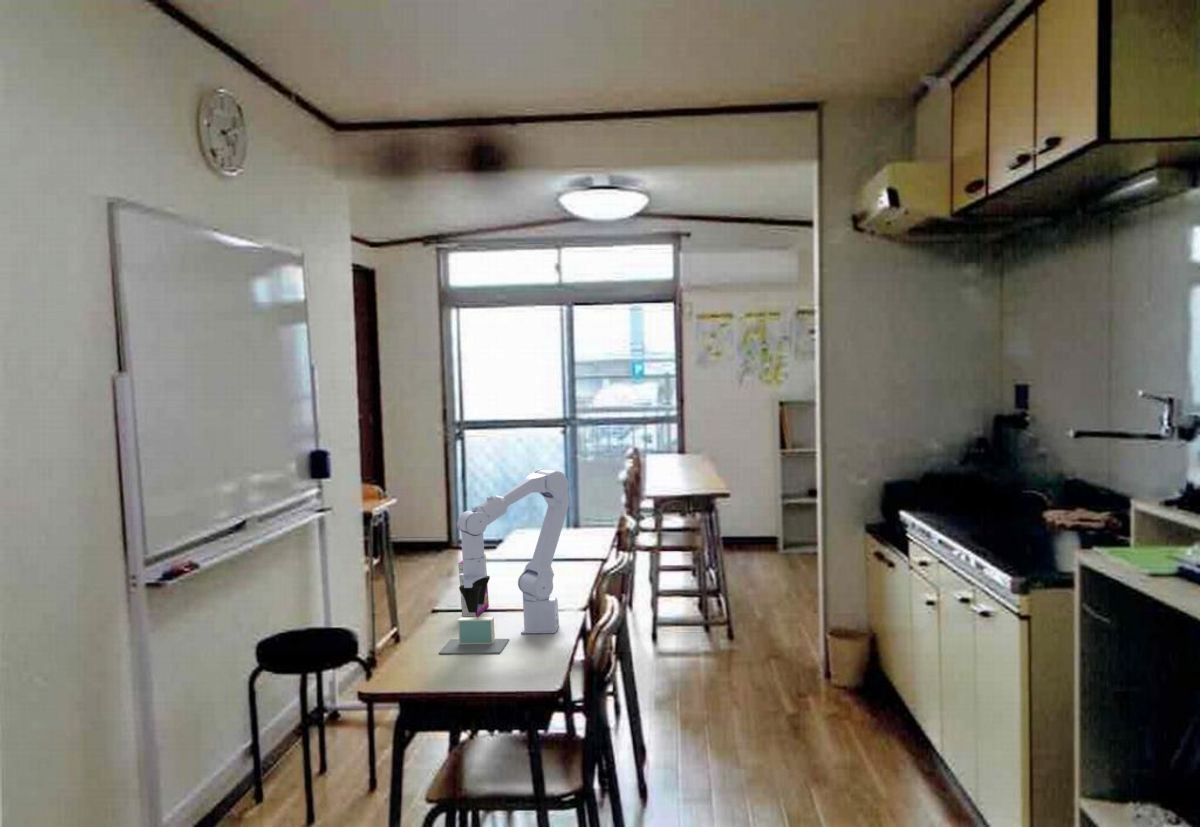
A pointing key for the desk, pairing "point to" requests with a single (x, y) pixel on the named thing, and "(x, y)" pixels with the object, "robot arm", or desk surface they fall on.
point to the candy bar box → (463, 604)
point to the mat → (474, 647)
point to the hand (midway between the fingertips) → (476, 608)
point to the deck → (476, 630)
